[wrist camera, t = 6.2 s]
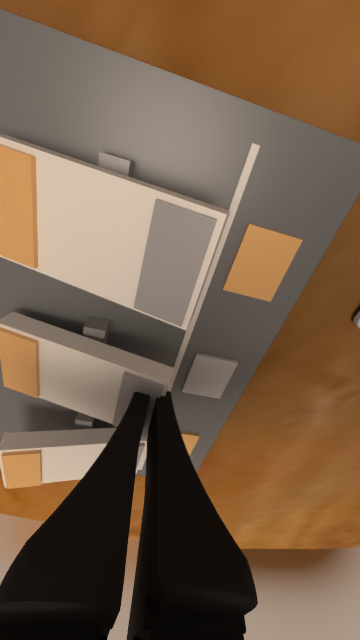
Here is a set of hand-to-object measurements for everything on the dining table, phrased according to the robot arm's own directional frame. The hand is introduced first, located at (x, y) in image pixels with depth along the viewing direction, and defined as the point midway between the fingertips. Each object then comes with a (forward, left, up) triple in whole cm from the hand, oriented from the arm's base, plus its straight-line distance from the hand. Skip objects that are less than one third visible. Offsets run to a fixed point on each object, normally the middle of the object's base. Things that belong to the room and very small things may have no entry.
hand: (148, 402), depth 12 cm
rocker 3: (+3, +7, -1) cm, 8 cm away
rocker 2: (+3, 0, -1) cm, 3 cm away
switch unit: (+2, 0, -4) cm, 4 cm away
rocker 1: (+3, -7, -1) cm, 8 cm away
